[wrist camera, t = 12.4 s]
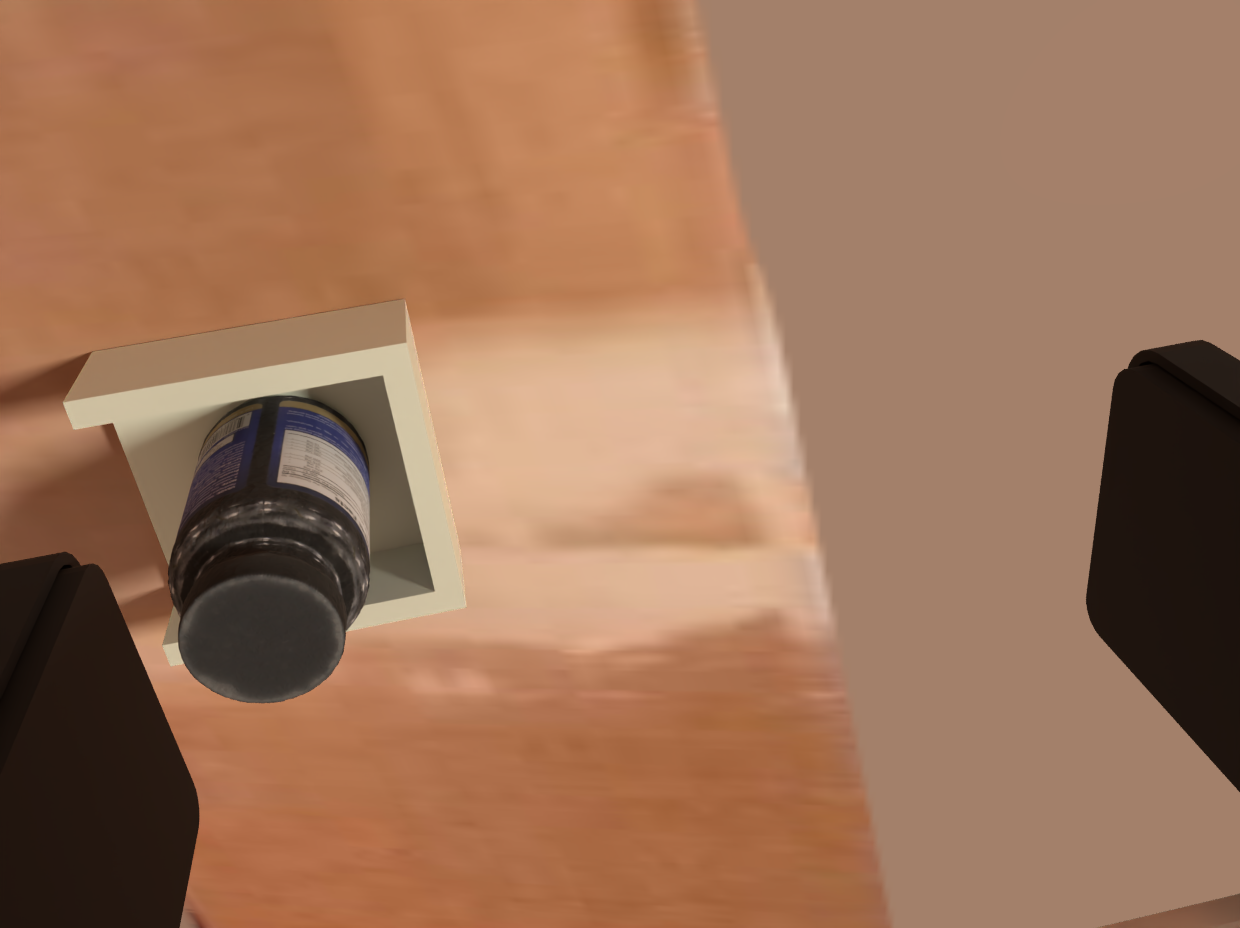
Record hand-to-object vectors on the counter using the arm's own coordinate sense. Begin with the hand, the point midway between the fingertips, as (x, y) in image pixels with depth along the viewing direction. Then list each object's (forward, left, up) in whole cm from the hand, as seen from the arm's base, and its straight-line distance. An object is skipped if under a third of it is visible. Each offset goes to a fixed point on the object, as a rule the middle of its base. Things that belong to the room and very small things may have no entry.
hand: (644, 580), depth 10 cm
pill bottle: (+13, -9, -30) cm, 34 cm away
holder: (+14, -9, -30) cm, 34 cm away
